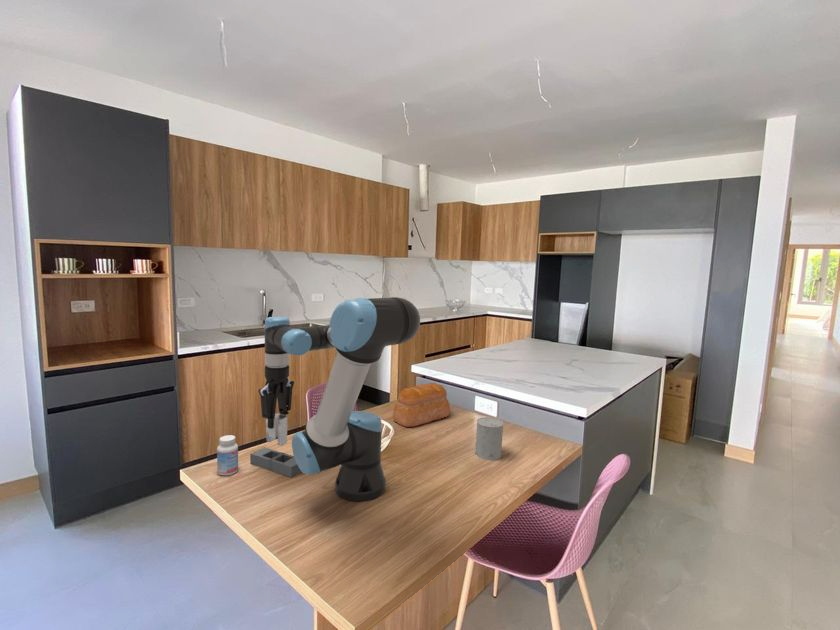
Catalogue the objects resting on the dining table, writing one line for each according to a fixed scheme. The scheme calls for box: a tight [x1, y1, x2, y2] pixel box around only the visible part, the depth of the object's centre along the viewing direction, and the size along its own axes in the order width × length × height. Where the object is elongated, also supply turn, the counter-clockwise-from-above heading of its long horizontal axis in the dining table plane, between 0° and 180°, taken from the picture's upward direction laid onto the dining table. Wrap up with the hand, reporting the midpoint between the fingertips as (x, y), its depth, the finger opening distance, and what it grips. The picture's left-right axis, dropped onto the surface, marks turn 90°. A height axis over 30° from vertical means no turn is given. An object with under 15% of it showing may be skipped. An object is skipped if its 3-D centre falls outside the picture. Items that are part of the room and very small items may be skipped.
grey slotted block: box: [249, 446, 303, 478], centre depth 139 cm, size 18×6×4 cm, turn 63°
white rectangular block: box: [265, 412, 288, 447], centre depth 138 cm, size 7×3×9 cm, turn 63°
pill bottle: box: [216, 434, 239, 476], centre depth 134 cm, size 6×6×11 cm
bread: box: [392, 382, 451, 428], centre depth 187 cm, size 14×26×15 cm, turn 131°
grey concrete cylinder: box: [474, 416, 504, 461], centre depth 154 cm, size 10×10×12 cm
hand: (276, 434), depth 138 cm, fingers closed on white rectangular block, 3 cm apart
